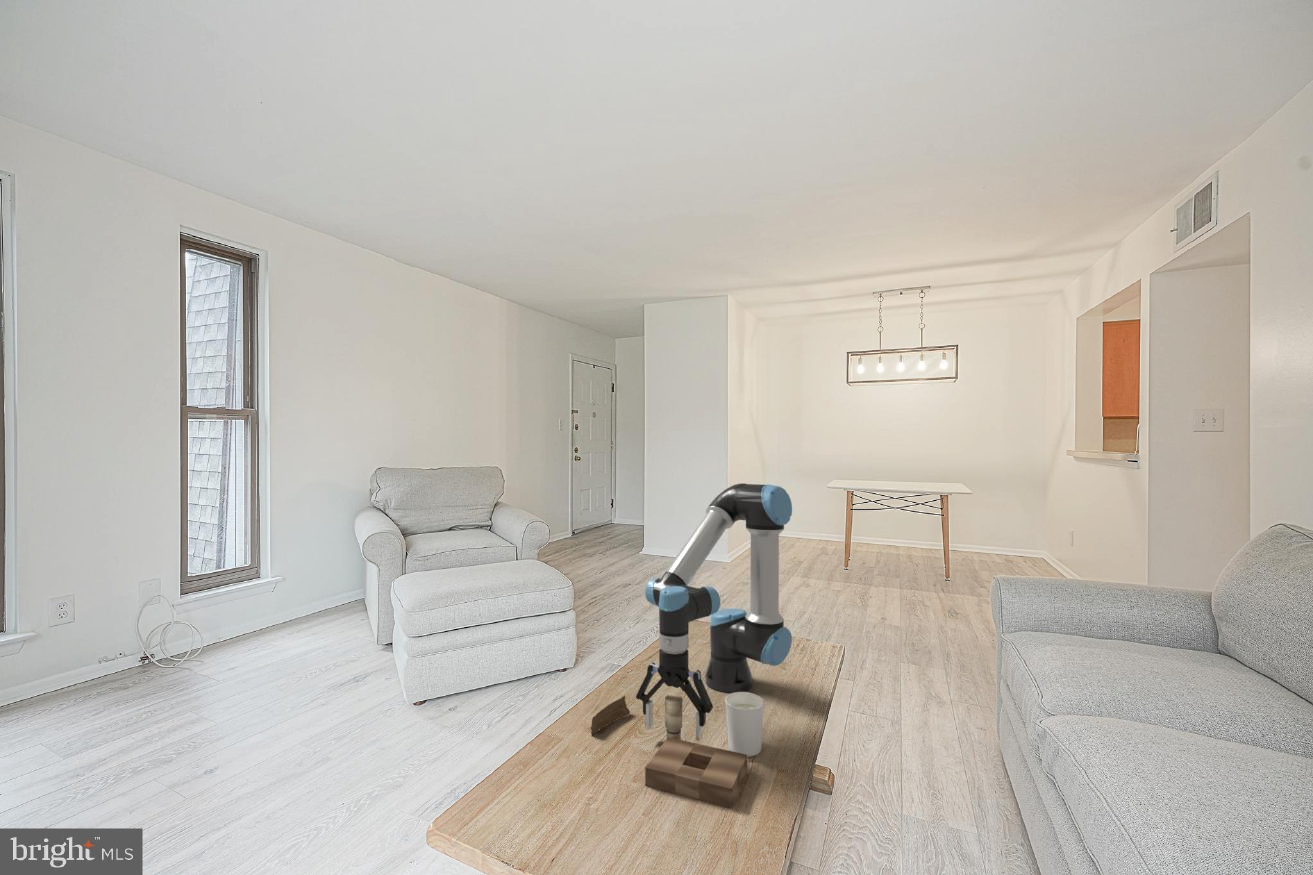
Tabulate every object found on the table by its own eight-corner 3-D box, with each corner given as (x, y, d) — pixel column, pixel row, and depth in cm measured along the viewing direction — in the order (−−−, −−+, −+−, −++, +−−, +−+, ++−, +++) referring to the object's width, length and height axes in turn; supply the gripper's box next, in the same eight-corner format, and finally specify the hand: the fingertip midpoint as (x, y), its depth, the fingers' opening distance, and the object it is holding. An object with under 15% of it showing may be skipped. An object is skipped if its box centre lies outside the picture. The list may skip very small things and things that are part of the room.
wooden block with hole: (668, 753, 137) (668, 737, 137) (747, 771, 129) (747, 754, 129) (645, 785, 124) (645, 767, 124) (731, 807, 116) (731, 788, 116)
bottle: (668, 739, 143) (668, 693, 143) (684, 742, 142) (684, 696, 142) (662, 747, 139) (662, 700, 139) (678, 751, 137) (678, 703, 138)
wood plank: (595, 737, 144) (595, 718, 144) (589, 735, 145) (589, 716, 145) (629, 714, 157) (630, 696, 157) (624, 712, 158) (624, 694, 158)
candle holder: (734, 761, 133) (734, 711, 134) (719, 740, 143) (719, 694, 143) (771, 755, 136) (771, 706, 136) (753, 735, 145) (753, 689, 146)
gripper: (623, 646, 142) (623, 729, 142) (716, 661, 133) (716, 750, 132) (635, 637, 149) (635, 716, 149) (724, 651, 139) (724, 735, 139)
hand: (673, 732), depth 140 cm, fingers open, 13 cm apart
